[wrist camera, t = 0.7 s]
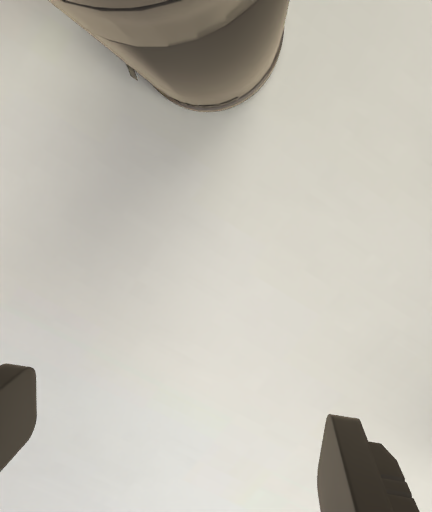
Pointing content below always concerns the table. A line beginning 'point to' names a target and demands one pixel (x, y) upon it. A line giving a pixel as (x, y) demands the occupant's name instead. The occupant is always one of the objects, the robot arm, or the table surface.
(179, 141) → the table surface
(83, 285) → the table surface
